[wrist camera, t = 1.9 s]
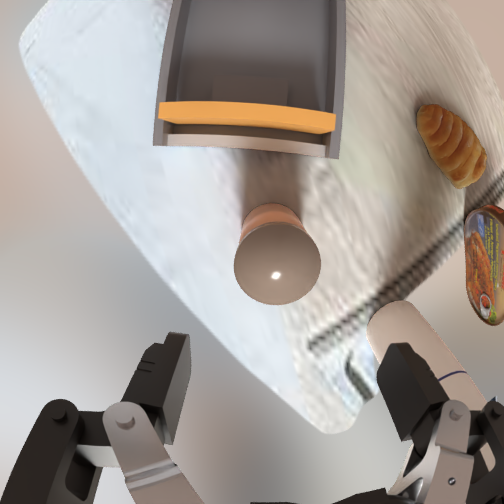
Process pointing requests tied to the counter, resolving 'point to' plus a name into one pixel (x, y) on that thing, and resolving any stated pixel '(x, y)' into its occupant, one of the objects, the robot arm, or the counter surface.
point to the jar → (275, 256)
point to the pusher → (248, 107)
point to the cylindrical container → (425, 354)
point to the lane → (255, 67)
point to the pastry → (451, 145)
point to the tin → (485, 262)
